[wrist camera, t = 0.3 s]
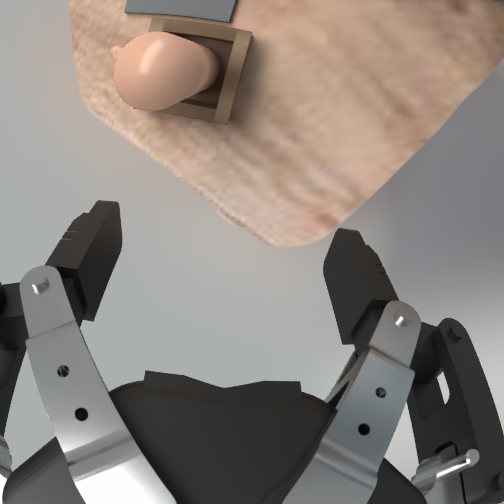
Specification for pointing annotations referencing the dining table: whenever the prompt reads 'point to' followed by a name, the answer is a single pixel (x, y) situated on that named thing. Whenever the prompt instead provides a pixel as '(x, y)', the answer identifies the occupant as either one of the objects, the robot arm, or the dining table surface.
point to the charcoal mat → (184, 8)
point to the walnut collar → (233, 71)
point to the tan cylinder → (162, 70)
